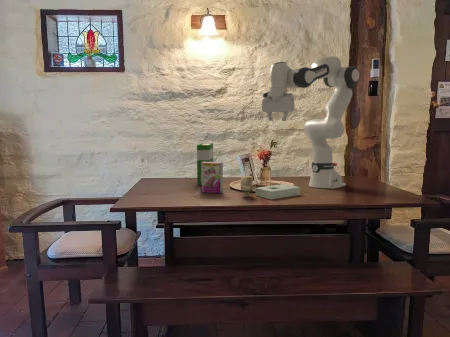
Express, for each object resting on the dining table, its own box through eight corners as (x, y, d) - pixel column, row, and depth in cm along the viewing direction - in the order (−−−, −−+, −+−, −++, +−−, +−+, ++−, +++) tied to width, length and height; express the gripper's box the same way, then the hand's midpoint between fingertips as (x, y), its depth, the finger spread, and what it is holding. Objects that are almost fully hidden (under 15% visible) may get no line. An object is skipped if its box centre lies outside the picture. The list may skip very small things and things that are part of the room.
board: (283, 191, 208) (284, 183, 208) (299, 194, 198) (300, 187, 198) (255, 195, 197) (255, 187, 196) (270, 199, 187) (271, 191, 187)
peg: (247, 194, 199) (247, 175, 198) (255, 196, 194) (255, 177, 193) (238, 196, 196) (238, 176, 194) (245, 198, 191) (245, 178, 189)
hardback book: (201, 180, 246) (201, 143, 243) (213, 180, 245) (213, 143, 242) (197, 184, 229) (196, 145, 225) (209, 185, 228) (209, 145, 225)
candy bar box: (200, 192, 205) (200, 162, 202) (203, 191, 209) (203, 161, 207) (220, 193, 202) (220, 163, 199) (223, 192, 206) (223, 162, 204)
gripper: (297, 93, 191) (296, 121, 192) (268, 95, 206) (267, 120, 208) (289, 92, 187) (288, 120, 188) (260, 94, 202) (259, 120, 204)
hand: (277, 120), depth 198 cm, fingers open, 8 cm apart
